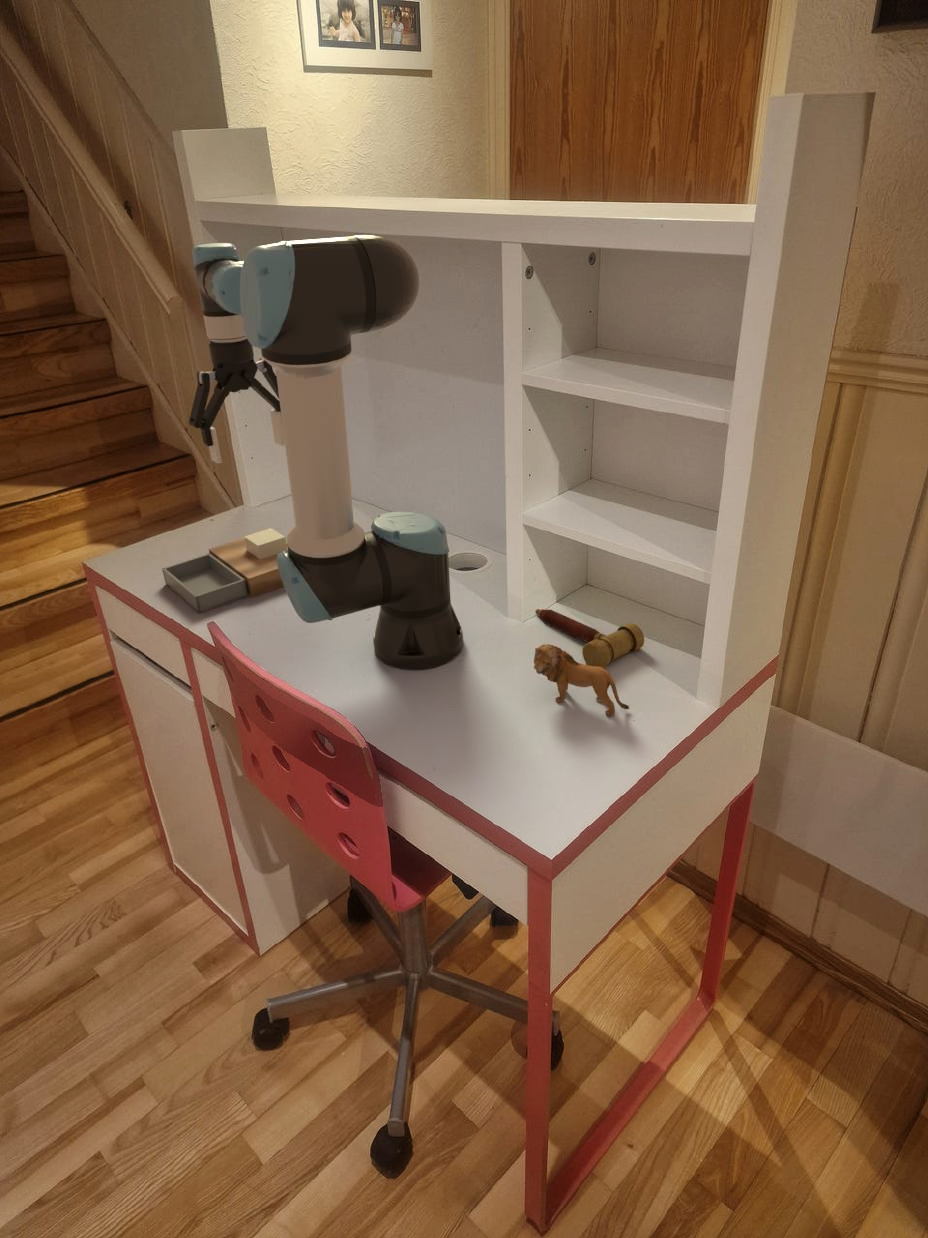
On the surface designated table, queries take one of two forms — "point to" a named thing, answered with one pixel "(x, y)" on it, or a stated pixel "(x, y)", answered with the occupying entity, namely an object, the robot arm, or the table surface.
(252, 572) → the board
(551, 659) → the lion figurine
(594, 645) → the gavel
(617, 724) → the table surface
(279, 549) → the block
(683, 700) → the table surface
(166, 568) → the tray
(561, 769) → the table surface
